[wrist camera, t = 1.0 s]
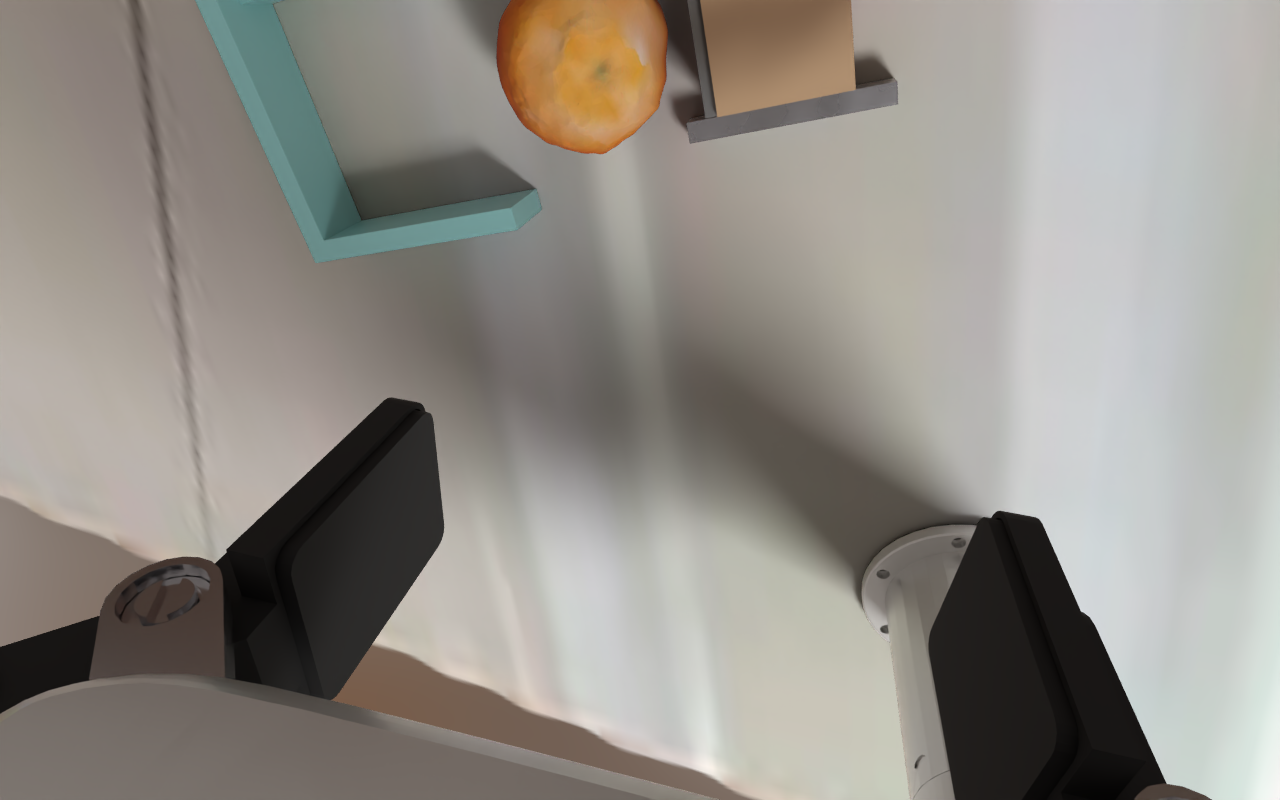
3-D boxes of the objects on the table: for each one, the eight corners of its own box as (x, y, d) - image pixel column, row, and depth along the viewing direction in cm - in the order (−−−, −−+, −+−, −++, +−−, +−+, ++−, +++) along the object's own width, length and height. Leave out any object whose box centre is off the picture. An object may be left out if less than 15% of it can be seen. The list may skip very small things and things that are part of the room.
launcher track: (894, 99, 33) (897, 104, 32) (693, 138, 36) (689, 143, 35) (886, -150, 28) (890, -156, 27) (657, -83, 31) (651, -86, 30)
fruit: (489, -71, 32) (521, -56, 26) (645, -33, 35) (706, -12, 29) (475, 109, 36) (500, 157, 30) (615, 129, 39) (662, 177, 33)
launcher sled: (850, 78, 33) (855, 89, 29) (715, 105, 35) (704, 119, 31) (840, -96, 29) (845, -108, 26) (691, -56, 31) (676, -61, 28)
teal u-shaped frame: (541, 209, 40) (517, 229, 36) (353, 241, 43) (315, 263, 40) (459, -85, 33) (420, -93, 29) (244, -16, 37) (187, -17, 33)
